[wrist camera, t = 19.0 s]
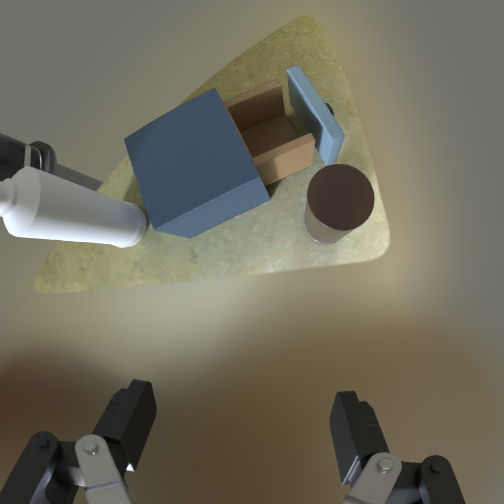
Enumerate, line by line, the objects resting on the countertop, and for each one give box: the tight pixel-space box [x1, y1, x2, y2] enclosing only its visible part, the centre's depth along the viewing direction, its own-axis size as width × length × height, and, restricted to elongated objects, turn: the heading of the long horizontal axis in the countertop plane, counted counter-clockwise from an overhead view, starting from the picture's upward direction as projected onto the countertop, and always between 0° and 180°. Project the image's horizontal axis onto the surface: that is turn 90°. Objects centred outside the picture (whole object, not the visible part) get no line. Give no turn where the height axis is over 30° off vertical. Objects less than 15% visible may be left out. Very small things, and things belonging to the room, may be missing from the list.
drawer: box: [223, 65, 345, 186], centre depth 26 cm, size 10×8×7 cm
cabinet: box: [124, 88, 271, 238], centre depth 27 cm, size 9×9×8 cm
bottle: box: [0, 166, 147, 247], centre depth 20 cm, size 5×5×25 cm
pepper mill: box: [304, 164, 374, 245], centre depth 23 cm, size 4×4×13 cm
